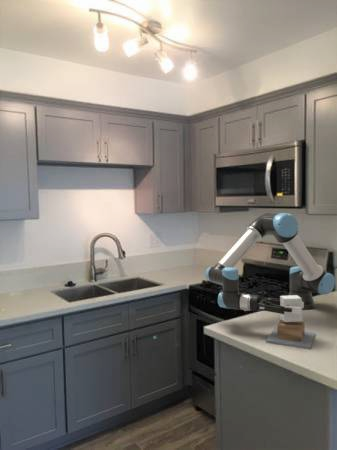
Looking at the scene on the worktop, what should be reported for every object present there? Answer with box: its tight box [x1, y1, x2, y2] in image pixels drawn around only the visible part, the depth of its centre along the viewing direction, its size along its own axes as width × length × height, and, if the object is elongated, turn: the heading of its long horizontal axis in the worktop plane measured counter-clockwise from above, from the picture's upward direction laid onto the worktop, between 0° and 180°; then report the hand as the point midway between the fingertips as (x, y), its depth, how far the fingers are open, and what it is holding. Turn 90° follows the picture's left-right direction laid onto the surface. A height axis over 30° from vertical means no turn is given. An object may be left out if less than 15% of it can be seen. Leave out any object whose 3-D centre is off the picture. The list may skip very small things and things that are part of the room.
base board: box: [265, 327, 316, 350], centre depth 169 cm, size 18×18×1 cm
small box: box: [279, 294, 303, 322], centre depth 168 cm, size 8×6×10 cm
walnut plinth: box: [276, 318, 306, 342], centre depth 169 cm, size 10×10×6 cm
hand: (301, 307), depth 166 cm, fingers closed on small box, 9 cm apart
